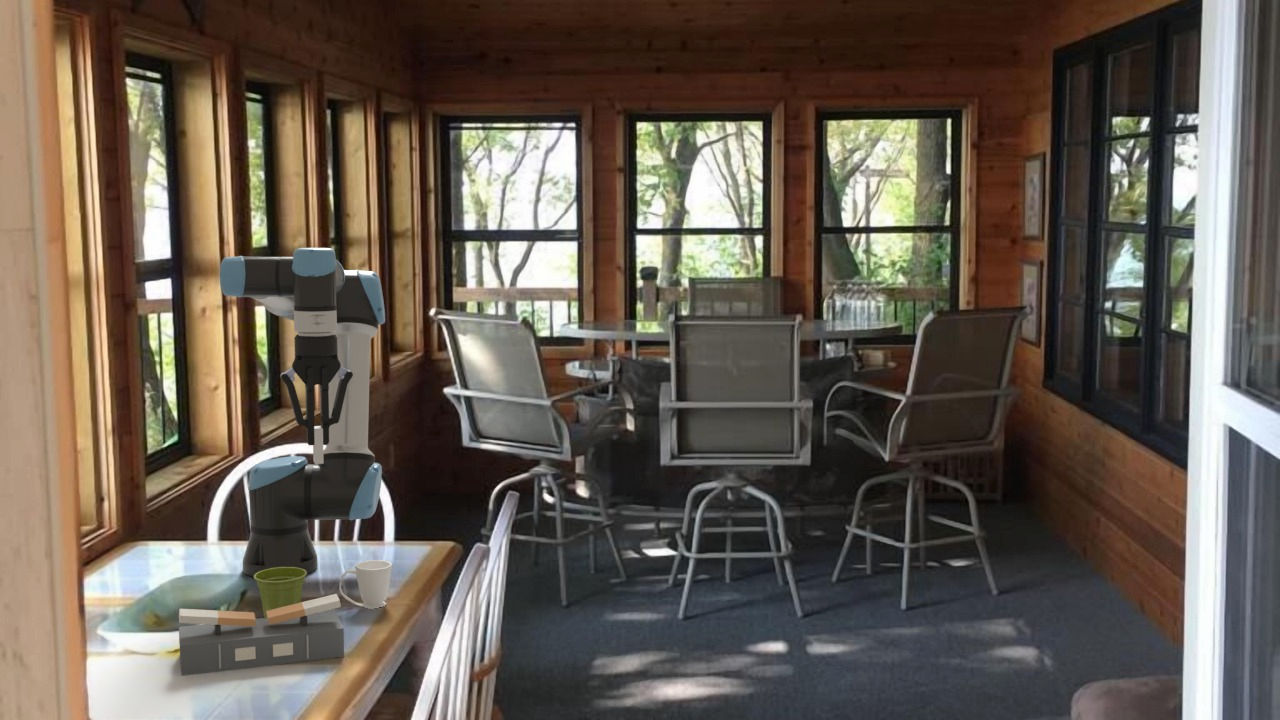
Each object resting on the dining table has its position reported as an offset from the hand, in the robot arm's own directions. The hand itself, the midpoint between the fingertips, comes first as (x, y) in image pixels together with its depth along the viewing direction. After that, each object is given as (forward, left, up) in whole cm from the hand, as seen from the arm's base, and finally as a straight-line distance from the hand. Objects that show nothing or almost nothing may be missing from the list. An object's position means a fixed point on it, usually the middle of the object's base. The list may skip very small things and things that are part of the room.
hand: (318, 462), depth 234 cm
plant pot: (-2, -7, -30) cm, 30 cm away
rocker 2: (+17, -5, -22) cm, 28 cm away
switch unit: (+17, -12, -29) cm, 36 cm away
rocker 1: (+17, -19, -22) cm, 34 cm away
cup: (-5, +9, -30) cm, 31 cm away
